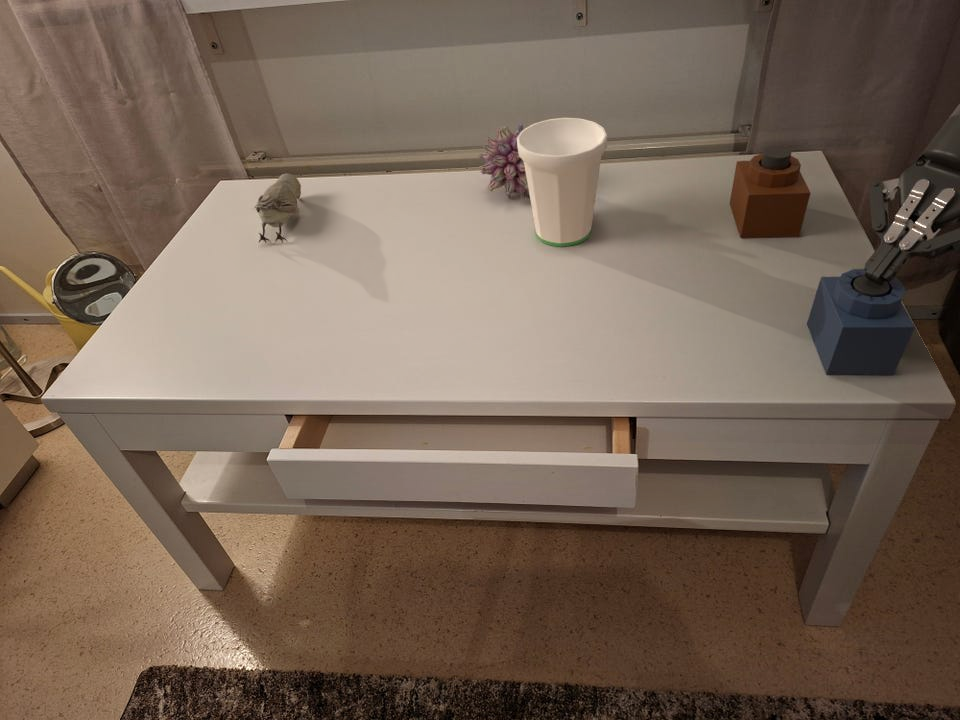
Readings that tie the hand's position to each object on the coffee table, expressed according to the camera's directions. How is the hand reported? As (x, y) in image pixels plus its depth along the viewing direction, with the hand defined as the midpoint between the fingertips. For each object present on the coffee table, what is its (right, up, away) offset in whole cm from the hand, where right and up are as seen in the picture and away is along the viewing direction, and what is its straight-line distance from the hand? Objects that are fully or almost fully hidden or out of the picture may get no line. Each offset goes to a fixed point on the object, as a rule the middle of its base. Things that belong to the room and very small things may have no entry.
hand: (872, 280), depth 70 cm
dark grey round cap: (0, -2, +2) cm, 3 cm away
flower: (-36, +20, +41) cm, 58 cm away
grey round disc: (-1, +19, +22) cm, 29 cm away
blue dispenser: (+1, -7, +7) cm, 10 cm away
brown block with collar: (0, +12, +28) cm, 31 cm away
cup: (-29, +11, +31) cm, 44 cm away
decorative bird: (-75, +15, +42) cm, 87 cm away
